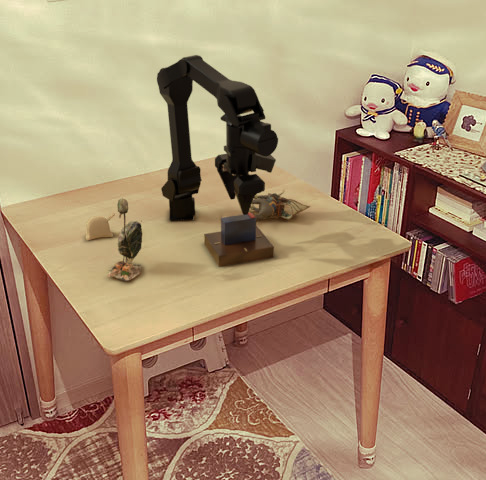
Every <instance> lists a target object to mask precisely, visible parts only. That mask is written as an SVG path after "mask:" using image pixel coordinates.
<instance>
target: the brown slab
mask: <svg viewBox="0 0 486 480" xmlns="http://www.w3.org/2000/svg"><path fill="white" fill-rule="evenodd" d="M203 234H204V235H203V241H204V242H203V243H204V246H205V248H206V249H207V251H208V252H209V254H210V256H212V258H213V260H214V261H215V263H216V265H217V266H218V267H226V266H233V265H238V264H243V263H250V262H254V261H255V262H256V261H261V260H268V259H273V258H274V257H275V256H274V255H275V245H274V244H273V243H271V241H270V240H269V238H267V236H266V235H265V234H264V233H263V231H262V230H261V229H260V228H259V226H257V225H256V240H253V241H247V242H241V243H235V244H229V245H225V244H224V243H223V242H222V240H221V230H220V231H213V232H209V233H203Z"/></svg>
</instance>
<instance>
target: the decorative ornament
mask: <svg viewBox="0 0 486 480" xmlns="http://www.w3.org/2000/svg"><path fill="white" fill-rule="evenodd" d="M115 216H116V213H112V214H110V215H109V216H108V217H107V218H106V217H104V216H102V215H97V216H92V217H91V218H89V219H88V221H87V223H86V228H85V230H86V231H85V232H86V234H85V239H86V241H91V240H94V239H98V238H105V237H106V238H107V237H108V238H113V237H114V234H113V233H112V231H111V228H110V223H109V221H111V219H113V218H114V217H115Z"/></svg>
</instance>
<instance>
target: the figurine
mask: <svg viewBox="0 0 486 480" xmlns="http://www.w3.org/2000/svg"><path fill="white" fill-rule="evenodd" d="M284 193H285V189H284V188H283V189H282V191H281V192H280V193H276V192H273V193H269V192H268V194H264V195H263V194H261V195H258V193H257V194H256V195H255V196H254V198H253V201H252V203H251V206H250V209H249V210H250V211H254V212H256V214H253V215H254V216H255V217H256V221H258V220H259V221H261V220H262V221H263V220H265V219H269V218H271V219H272V218H275V219H276V220H277V219H278V218H281V219H285V220H287V221H288V220H290V219H292V218H293V217H295V216H297V215H299V214H300V213H302V212H304V211H306V210H307V209H309V208H311V205H307V204H303V203H301V202H299V201H297V200H295V199H292V198H286V197H283V196H282V195H283V194H284ZM255 205H258V207H256V206H255ZM286 206H289V207H290V210H291V214H289V211H286V210H285V207H286Z"/></svg>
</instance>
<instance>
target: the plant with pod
mask: <svg viewBox="0 0 486 480" xmlns="http://www.w3.org/2000/svg"><path fill="white" fill-rule="evenodd" d="M116 204H117V206H116V207H117V212H118V213H119V215H118V218H119V219H121V218H122V215H123V227H122V228H121V229H120V232H119V234H118V237H117V243H116V244H117V250H118V253H119V254H120V255H121V256H123V257H124V258H123V260H121V261H120V260H119V261H118V262H116V263H115V264H114V265H112V266H111V268H110V269H109V270H108V273H107V275H106V277H108V278H109V277H110V278H112V277H114V278H116V279H117V280H120V281H122V282H129V281H131V280H133V279H134V278H136V277H137V276H139V275H140V274H141V272H142V270H141V269H142V265H141V264H133V261H134V259H135V258H136V257H137V255H138V254H139V253H140V251H141V250H142V243H143V227H142V224H141V223H140V222H143V220H140V222H139V221H138V220H136V221H135V220H130V221H128V222H127V221H126V218H127V217H126V214H128V212H129V202H128V200H126V198H120V199H118V200H117V203H116ZM126 222H127V223H126Z"/></svg>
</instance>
